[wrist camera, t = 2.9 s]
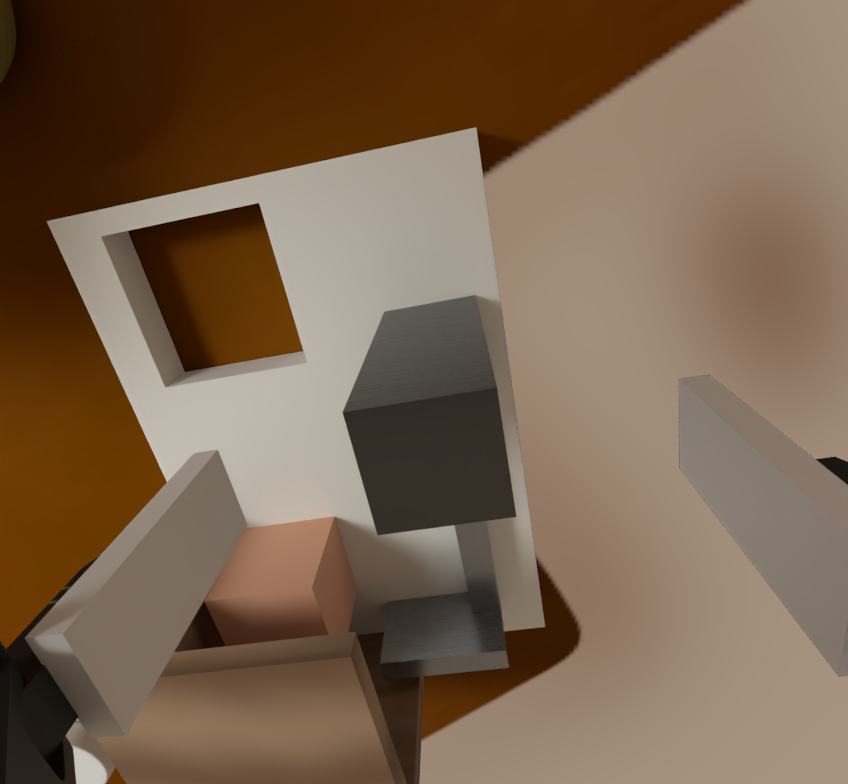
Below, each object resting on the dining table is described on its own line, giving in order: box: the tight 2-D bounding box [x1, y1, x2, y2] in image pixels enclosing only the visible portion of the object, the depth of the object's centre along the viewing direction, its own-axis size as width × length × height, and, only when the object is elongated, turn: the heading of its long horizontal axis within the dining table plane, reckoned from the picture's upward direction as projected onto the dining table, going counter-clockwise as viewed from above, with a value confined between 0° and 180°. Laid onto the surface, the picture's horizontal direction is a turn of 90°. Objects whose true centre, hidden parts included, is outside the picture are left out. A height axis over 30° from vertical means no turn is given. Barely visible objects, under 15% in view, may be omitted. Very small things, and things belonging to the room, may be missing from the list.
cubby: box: [96, 573, 424, 784], centre depth 24 cm, size 11×10×10 cm
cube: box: [204, 516, 357, 646], centre depth 26 cm, size 5×5×5 cm
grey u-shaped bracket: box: [343, 295, 516, 680], centre depth 21 cm, size 18×8×10 cm, turn 11°
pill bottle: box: [66, 718, 115, 784], centre depth 30 cm, size 5×5×8 cm
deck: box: [47, 128, 545, 635], centre depth 26 cm, size 26×18×2 cm
